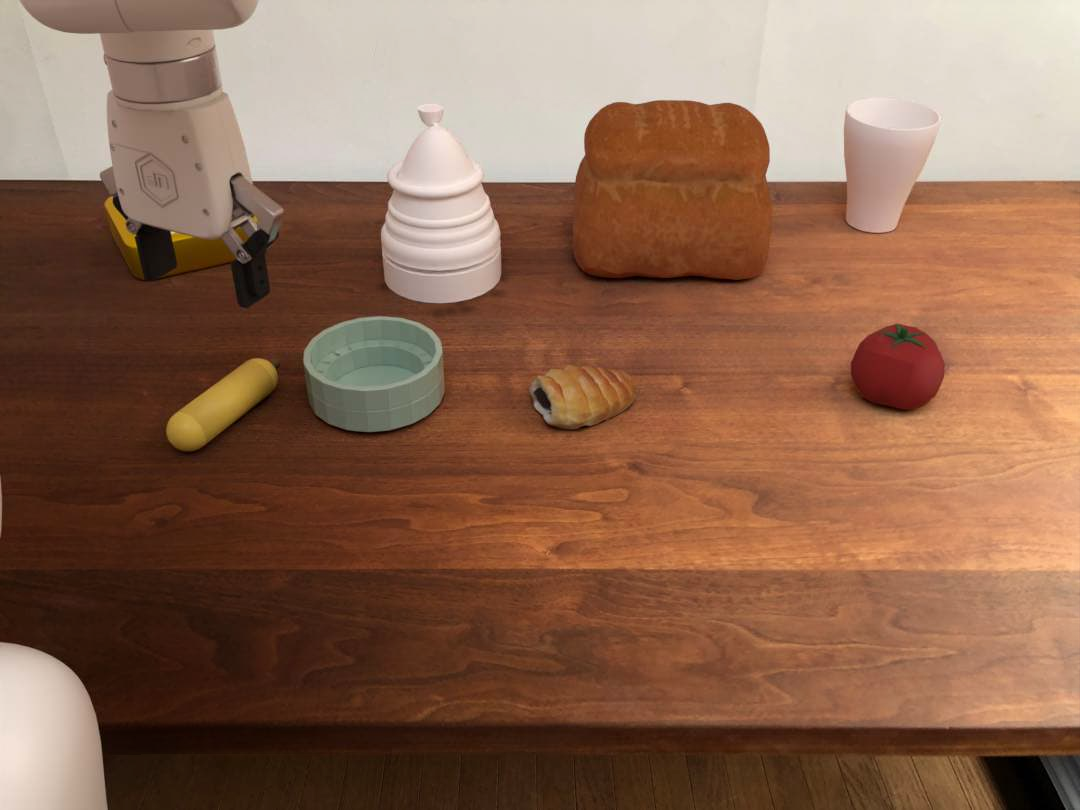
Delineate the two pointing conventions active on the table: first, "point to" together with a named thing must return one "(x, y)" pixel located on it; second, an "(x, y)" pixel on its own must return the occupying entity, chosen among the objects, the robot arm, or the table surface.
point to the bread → (673, 192)
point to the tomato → (898, 367)
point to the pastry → (581, 395)
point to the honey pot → (439, 221)
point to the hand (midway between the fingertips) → (207, 287)
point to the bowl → (374, 373)
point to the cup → (884, 158)
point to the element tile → (186, 248)
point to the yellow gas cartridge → (222, 404)
